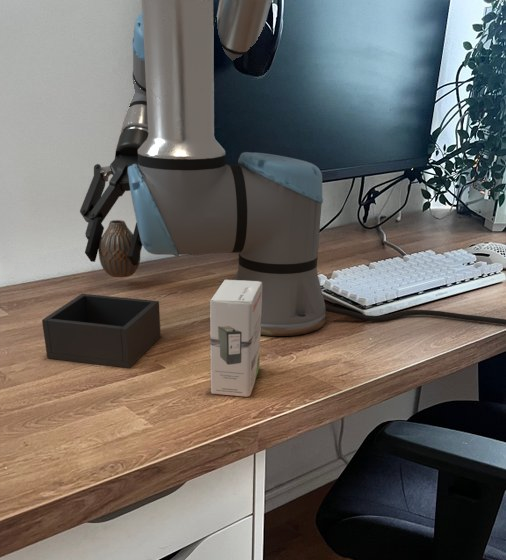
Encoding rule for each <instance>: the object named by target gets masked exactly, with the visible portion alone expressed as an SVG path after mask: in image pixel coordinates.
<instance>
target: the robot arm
mask: <svg viewBox="0 0 506 560" xmlns="http://www.w3.org/2000/svg"><path fill="white" fill-rule="evenodd" d="M271 5H272V0H219V1H218V7H217V13H216V17H217V29H218V35H219V38H220V42H221V45H222V48H223V50H224V52H225V54H226V55H227V56H228V57H229V58H230V59H231V60H232V61H233V60H235V59H236V58H239V57H241V56H242V55H243V54H245V52H247V51H248V50H249V49H250V47H252V46H253V45H254V44H255V43H256V41H257V40H258V37H259V36H260V34H261V32H262V30H263V27H264V28H265V25H266V22H267V18H268V15H269V10H270V8H271ZM141 10H142V12H140V13H139V14H138V16H137V18H136V19H135V22H134V29H133V38H132V80H133V84H134V89H135V94H134V96H133V99H132V101H131V103H130V106H129V107H130V108H129V109H128V111H127V110H126V112H127V114H126V113H125V115H126V116H125V115H124V119H123V122H122V126H121V130H120V135H119V137H118V141H117V144H116V148H115V155H114V159H113V160H112V162H111V163H110V165H108V166H101V164H99V163H96V164H95V165H94V166H93V177H92V179H91V182H90V184H89V187H88V189H87V192H86V194H85V197H84V200H83V202H82V204H81V207H80V209H79V213H80V215H81V216H82V218H83V219H84V221H85V222H86V223H87V227H86V230H85V233H84V234H85V237H86V239H87V243H86V247H85V251H84V254H85V255H86V256H87V258H88V259H89V261H90V262H92V263H93V262H96V260H97V256H98V254H99V243H100V240H101V238H102V236H103V234H104V230H105V227H104V225H103V222H104V220H105V219H106V217H107V216H108V214H109V213H110V211H111V210H112V208H113V207H114V205H115V204H116V202H117V201H118V199H119V198H120V197H122V196H123V195H124V194H125V192H130V196H131V201H132V202H131V203H132V207H133V212H134V216H135V226H134V230H133V238H132V241H131V245H130V249H129V253H128V257H129V259H130V261H131V263H132V264H133V265H138V261H139V257H140V258H141V252H142V248H144V250H145V251H146V252H147V253H149V254H151V255H156V256H157V255H159V256H162V255H163V256H164V255H165V256H166V255H168V256H175V257H179V256H182V255H206V254H207V255H208V254H209V255H211V254H230V253H231V254H233V253H235V254H236V253H237V254H238V267H237V271H236V275H235V278H234V280H245V281H259V282H262V309H261V333H260V336H270V337H271V336H272V337H290V336H299V335H304V334H308V333H312V332H315V331H317V330H319V329H321V328H322V327H323V326H324V325H325V323H326V318H327V317H326V316H327V315H326V314H327V312H328V313H333V314H339V315H344V316H348V317H352V318H354V319H358V320H363V321H367V322H383V321H391V320H394V319H398V318H402V317H409V316H429V317H431V316H432V317H440V318H448V319H455V320H463V321H471V322H481V323H490V324H495V325H496V324H497V325H505V326H506V318H499V317H498V318H497V317H491V316H483V315H482V316H481V315H475V314H465V313H457V312H450V311H442V310H434V309H433V310H432V309H407V310H402V311H397V312H393V313H389V314H382V315H370V314H364V313H360V312H357V311H353V310H349V309H345V308H340V307H335V306H330V305H326V303H325V298H324V295H323V290H322V287H321V282H320V279H319V275H318V259H319V257H318V256H319V244H320V230H321V219H322V218H321V216H322V205H323V203H324V198H323V174H322V171H321V170H320V168H319V167H318V166H317V165H315V164H314V163H312V162H308V161H306V160H302V159H298V158H294V157H288V156H283V155H279V154H278V155H277V154H271V153H265V152H250V151H245V152H241V154H240V155H239V157H238V160H237V163H238V164H226V161H227V160H226V159H227V158H226V155H227V154H226V150H225V148H223V146H222V145H221V143H219V142H218V140H216V138H215V137H216V136H215V79H214V26H215V23H214V20H215V19H214V17H215V16H214V0H141ZM267 72H268V71H267ZM267 72H266V73H265V74H264V75H262V76H259V77H254V78H257V79H256V80H258V79H262V78H264V77H265V76H266V74H267ZM134 80H135V81H134ZM135 82H136V83H135ZM140 88H141V89H140ZM111 175H112V177H111V178H110V180H109V177H110V176H111ZM107 182H108V186H107V187H106V183H107ZM105 187H106V189H105Z"/></svg>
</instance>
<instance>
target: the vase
mask: <svg viewBox="0 0 506 560" xmlns="http://www.w3.org/2000/svg"><path fill="white" fill-rule="evenodd" d="M133 234H134V232H132V231H131V229H130V228H129V227H128V226H127V223H126V221H124V220H121V219H114V220H113V219H112V220H110V221H109V224H108V226H107V228H106V230H105V231H104V232H103V234H102V238H101V240H100V243H99V249H98V258H99V263H100V265H101V268H102V269H103V271H104V272H105V273H106V274H107V275H109V276H110V277H113V278H129V277H131V276H133V275H134V274H135V273H136V272H137V270H138V269H139V267H140V263H141V262H140V261H141V256H140V257H139V261H138V265H133V264H132V263H131V261H130V259H129V257H128V253H129V249H130V245H131V241H132V238H133Z"/></svg>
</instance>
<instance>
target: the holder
mask: <svg viewBox="0 0 506 560" xmlns="http://www.w3.org/2000/svg"><path fill="white" fill-rule="evenodd" d="M160 316H161V315H160V301H159V300H151V299H140V298H130V297H121V296H113V295H112V296H110V295H102V294H101V295H100V294H92V293H91V294H90V293H81V294H79V295H78V296H76V297H74V298H73V299H71V300H70V301H68V302H67V303H65V304H64V305H62V306H60V307H59V308H58V309H56V310H54V311H53V312H52V313H50V314H49V315H47V316H46V317H44V318H42V320H41V321H42V322H41V323H42V332H43V339H44V345H45V353H46V358H47V359H50V360H58V361H69V362H76V363H83V364H93V365H99V366H101V365H102V366H108V367H109V366H110V367H117V368H125V369H131V367H132V366H133V365H134V364H136V362H137V361H138V360H139V359H140V358H141V357H142V356H143V355H144V354H145V353H146V352H148V350H149V349H150V348H151V347H153V345H154V344H156V342H157V341H159V339H160V338H161V337H162V336H161V317H160Z"/></svg>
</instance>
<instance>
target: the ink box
mask: <svg viewBox="0 0 506 560" xmlns="http://www.w3.org/2000/svg"><path fill="white" fill-rule="evenodd" d="M209 301H210V302H209V308H210V309H209V311H210V312H209V315H210V318H209V319H210V320H209V322H210V323H209V326H210V327H209V328H210V329H209V331H210V336H209V337H210V393H211V394H213V395H223V396H235V397H245V398H247V397H251V395H252V392H253V388H254V386H255V383H256V380H257V378H258V373H259V371H260V356H261V354H260V353H261V335H260V333H261V309H262V282H259V281H245V280H235V279H224V280H223V281H222V283H221V284H220V286H219V288H218V289H217V290H216V292H215V293H214V295H213V296H212V298H211V299H210V300H209Z"/></svg>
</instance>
